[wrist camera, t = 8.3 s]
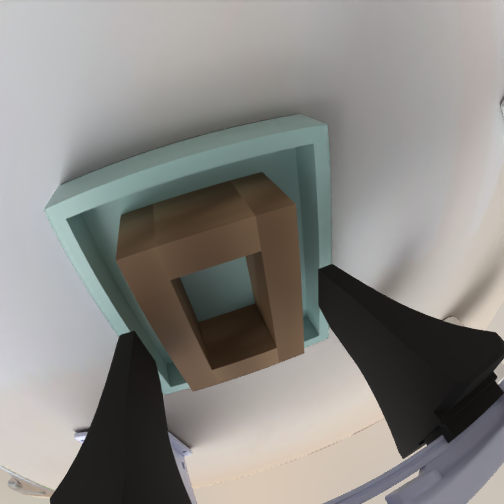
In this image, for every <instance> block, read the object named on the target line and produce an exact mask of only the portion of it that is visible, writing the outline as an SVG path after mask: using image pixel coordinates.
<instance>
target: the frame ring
mask: <svg viewBox="0 0 504 504" xmlns="http://www.w3.org/2000/svg"><path fill="white" fill-rule="evenodd" d="M244 256H245V257H246V262H247V267H248V271H249V276H250V281H251V286H252V291H253V295H254V300H255V304H252V305H249V306H246V307H243V308H240V309H237V310H234V311H231V312H228V313H225V314H222V315H219V316H216V317H213V318H210V319H207V320H204V321H200V322H198V320H197V318H196V315H195V313H194V310H193V308H192V306H191V303H190V301H189V298H188V296H187V294H186V291H185V289H184V286H183V284H182V281H181V279H180V277H182V276H185V275H188V274H191V273H195V272H198V271H201V270H204V269H207V268H210V267H213V266H216V265H219V264H223V263H226V262H229V261H232V260H235V259H238V258H241V257H244ZM116 262H117V264H118V266H119V268H120V270H121V272H122V274H123V276H124V278H125V280H126V282H127V284H128V286H129V287H130V289H131V291H132V293H133V295H134V297H135V299H136V300H137V302H138V304H139V306H140V308H141V309H142V311H143V313H144V315H145V316H146V318H147V320H148V322H149V323H150V325H151V327H152V328H153V330H154V332H155V334H156V335H157V337H158V338H159V340H160V342H161V343H162V345H163V347H164V348H165V350H166V351H167V353H168V355H169V356H170V358H171V359H172V361H173V362H174V364H175V366H176V367H177V369H178V370H179V372H180V373H181V375H182V376H183V378H184V379H185V381H186V382H187V384H188V385H189V387H190V388H191V389H192V391H197V390H200V389H203V388H207V387H210V386H213V385H216V384H220V383H223V382H226V381H229V380H232V379H235V378H238V377H241V376H244V375H247V374H250V373H253V372H256V371H258V370H261V369H264V368H267V367H269V366H272V365H275V364H277V363H280V362H283V361H285V360H288V359H291V358H293V357H296V356H298V355H301V354H303V353H304V329H303V305H302V285H301V268H300V252H299V238H298V224H297V212H296V204H295V203H294V202H293V201H292V200H291V199H290V198H289V197H288V196H287V195H286V194H285V193H284V192H283V191H282V190H281V189H280V188H279V187H278V186H277V185H276V184H275V183H274V182H272V181H271V180H270V179H269V178H268V177H267V176H266V175H265V174H264V173H263V172H260V173H256V174H252V175H248V176H245V177H241V178H237V179H234V180H230V181H226V182H223V183H219V184H216V185H212V186H209V187H205V188H202V189H199V190H195V191H192V192H189V193H186V194H182V195H179V196H176V197H173V198H170V199H166V200H163V201H160V202H157V203H154V204H151V205H148V206H145V207H142V208H139V209H136V210H133V211H130V212H128V213H125V214H122V215H121V218H120V225H119V233H118V242H117V252H116Z"/></svg>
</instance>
